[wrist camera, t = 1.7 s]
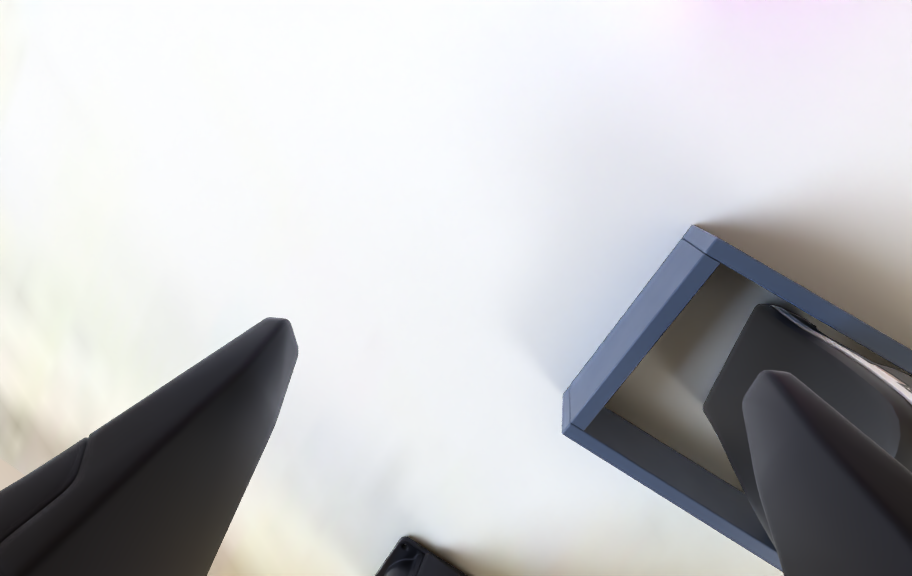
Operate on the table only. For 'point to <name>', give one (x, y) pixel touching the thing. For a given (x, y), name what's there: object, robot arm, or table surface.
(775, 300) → the table surface
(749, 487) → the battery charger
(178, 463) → the robot arm
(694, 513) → the box
